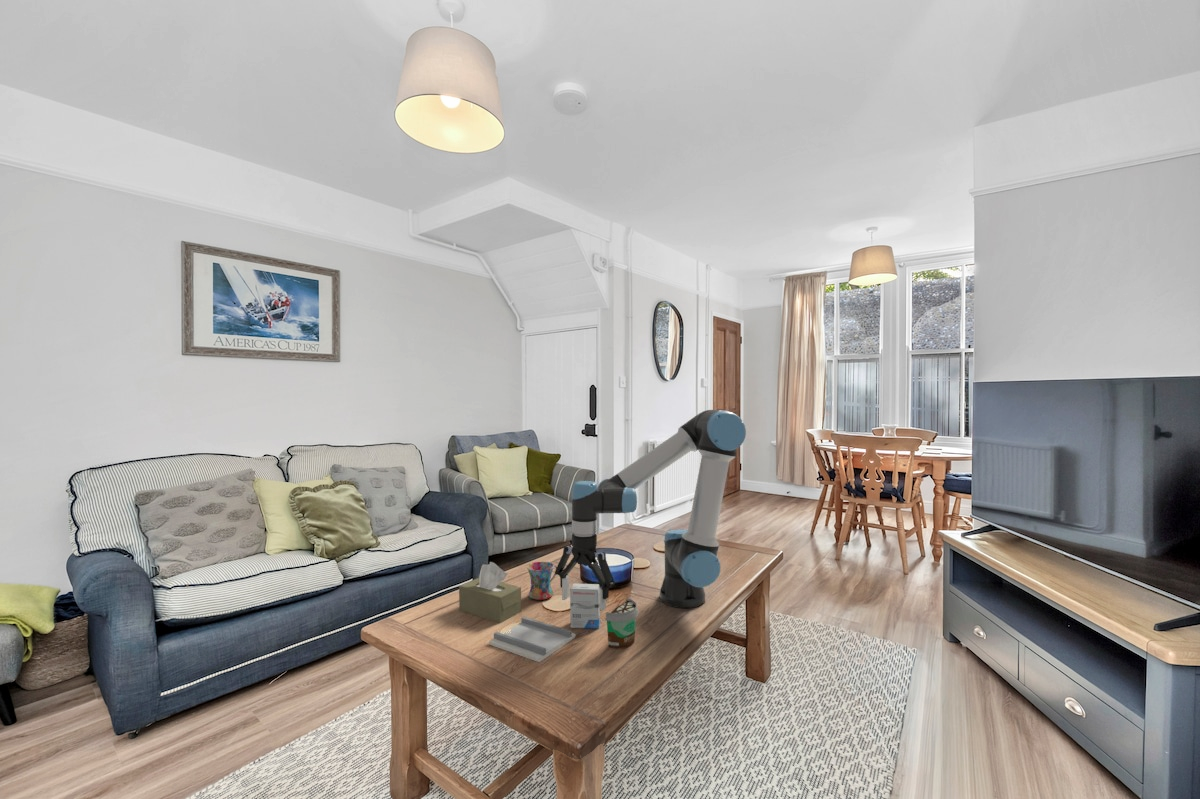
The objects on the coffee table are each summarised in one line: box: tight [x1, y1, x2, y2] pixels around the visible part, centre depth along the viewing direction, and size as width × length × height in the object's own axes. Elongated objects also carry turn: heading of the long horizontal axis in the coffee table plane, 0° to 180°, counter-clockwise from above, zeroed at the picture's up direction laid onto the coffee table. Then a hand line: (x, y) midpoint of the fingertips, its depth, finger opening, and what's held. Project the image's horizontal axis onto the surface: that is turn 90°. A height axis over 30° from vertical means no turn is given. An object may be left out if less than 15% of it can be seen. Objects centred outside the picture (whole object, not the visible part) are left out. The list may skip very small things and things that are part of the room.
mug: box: [526, 561, 558, 601], centre depth 176 cm, size 12×9×11 cm
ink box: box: [569, 583, 601, 629], centre depth 153 cm, size 8×5×12 cm, turn 84°
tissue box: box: [458, 561, 522, 624], centre depth 164 cm, size 19×10×16 cm, turn 57°
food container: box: [605, 597, 640, 649], centre depth 142 cm, size 12×6×10 cm, turn 148°
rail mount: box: [488, 616, 576, 663], centre depth 144 cm, size 18×16×2 cm
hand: (583, 603), depth 153 cm, fingers open, 13 cm apart
